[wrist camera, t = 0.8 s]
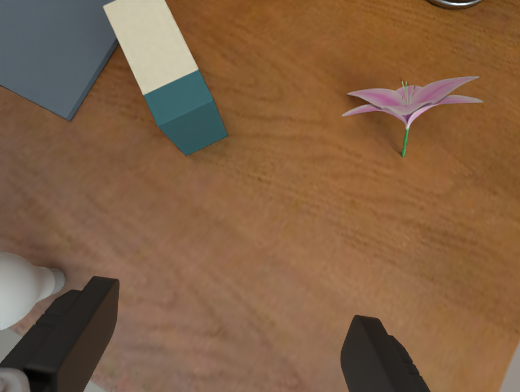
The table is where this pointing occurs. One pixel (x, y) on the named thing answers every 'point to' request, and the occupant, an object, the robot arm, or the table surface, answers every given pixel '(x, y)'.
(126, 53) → the carton
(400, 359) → the robot arm
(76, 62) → the mat
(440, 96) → the lily
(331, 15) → the table surface
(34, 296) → the lightbulb
